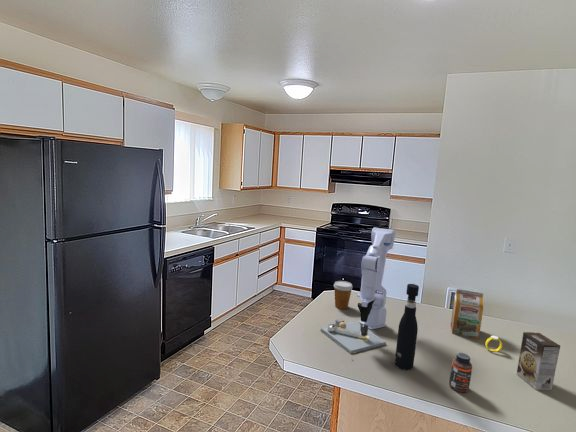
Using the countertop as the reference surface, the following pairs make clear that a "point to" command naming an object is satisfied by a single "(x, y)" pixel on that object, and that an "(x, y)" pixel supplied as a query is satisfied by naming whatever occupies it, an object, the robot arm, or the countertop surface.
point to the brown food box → (538, 360)
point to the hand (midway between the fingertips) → (365, 317)
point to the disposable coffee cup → (342, 294)
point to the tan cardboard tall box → (467, 313)
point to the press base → (353, 338)
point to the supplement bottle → (460, 373)
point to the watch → (493, 339)
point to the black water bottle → (407, 332)
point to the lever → (350, 331)
